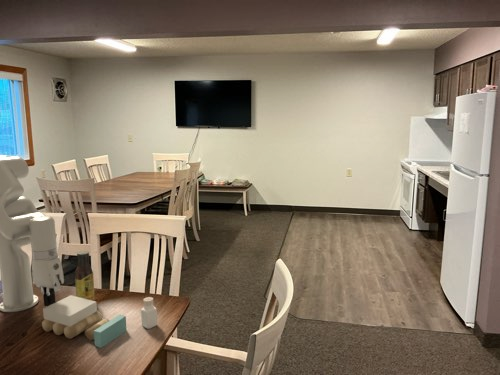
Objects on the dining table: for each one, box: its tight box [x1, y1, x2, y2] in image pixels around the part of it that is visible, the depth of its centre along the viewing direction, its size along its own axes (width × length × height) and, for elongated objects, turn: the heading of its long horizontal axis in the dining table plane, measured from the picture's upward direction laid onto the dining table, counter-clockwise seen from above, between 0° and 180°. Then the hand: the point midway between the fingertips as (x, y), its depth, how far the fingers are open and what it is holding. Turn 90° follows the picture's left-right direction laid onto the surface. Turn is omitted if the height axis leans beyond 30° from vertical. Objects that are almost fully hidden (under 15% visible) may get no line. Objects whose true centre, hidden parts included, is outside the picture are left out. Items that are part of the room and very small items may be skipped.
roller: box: [85, 318, 110, 341], centre depth 126 cm, size 7×4×4 cm, turn 156°
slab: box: [42, 294, 98, 327], centre depth 131 cm, size 12×11×4 cm
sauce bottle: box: [74, 250, 95, 301], centre depth 146 cm, size 7×6×20 cm
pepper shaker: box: [140, 296, 158, 330], centre depth 131 cm, size 4×4×10 cm
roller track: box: [41, 309, 103, 340], centre depth 129 cm, size 22×12×4 cm, turn 65°
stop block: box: [94, 314, 127, 348], centre depth 124 cm, size 2×11×5 cm, turn 155°
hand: (50, 304), depth 135 cm, fingers closed
